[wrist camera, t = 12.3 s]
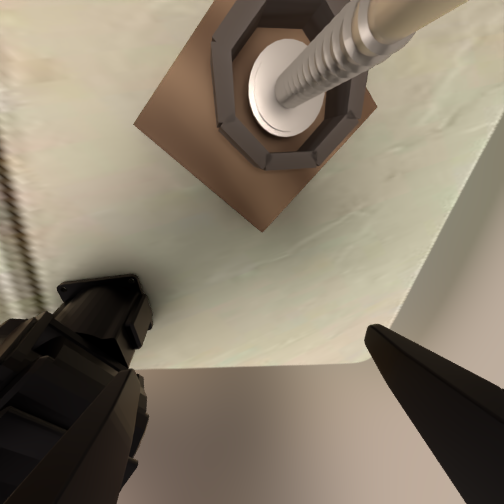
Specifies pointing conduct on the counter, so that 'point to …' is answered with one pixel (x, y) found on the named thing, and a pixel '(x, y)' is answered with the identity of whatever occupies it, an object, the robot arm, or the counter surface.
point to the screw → (332, 59)
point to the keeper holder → (248, 107)
